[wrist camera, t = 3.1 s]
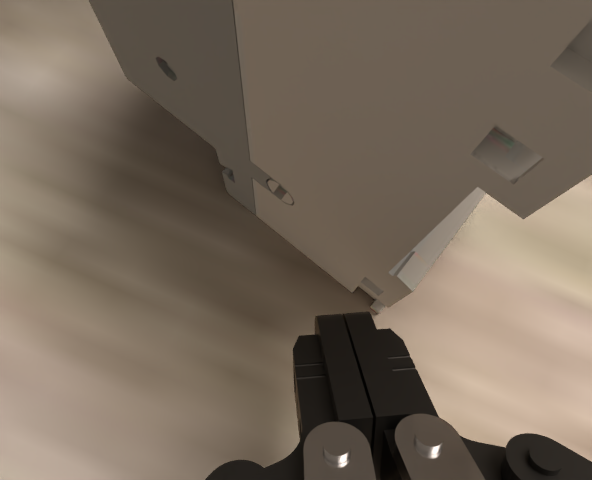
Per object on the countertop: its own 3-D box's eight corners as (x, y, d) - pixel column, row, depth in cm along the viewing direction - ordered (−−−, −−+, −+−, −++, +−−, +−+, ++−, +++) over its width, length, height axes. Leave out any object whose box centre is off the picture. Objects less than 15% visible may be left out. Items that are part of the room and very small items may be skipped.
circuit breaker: (237, 15, 22) (168, -668, 8) (476, 185, 20) (1015, -342, 5) (126, 112, 20) (-247, -571, 6) (378, 314, 18) (822, 23, 3)
